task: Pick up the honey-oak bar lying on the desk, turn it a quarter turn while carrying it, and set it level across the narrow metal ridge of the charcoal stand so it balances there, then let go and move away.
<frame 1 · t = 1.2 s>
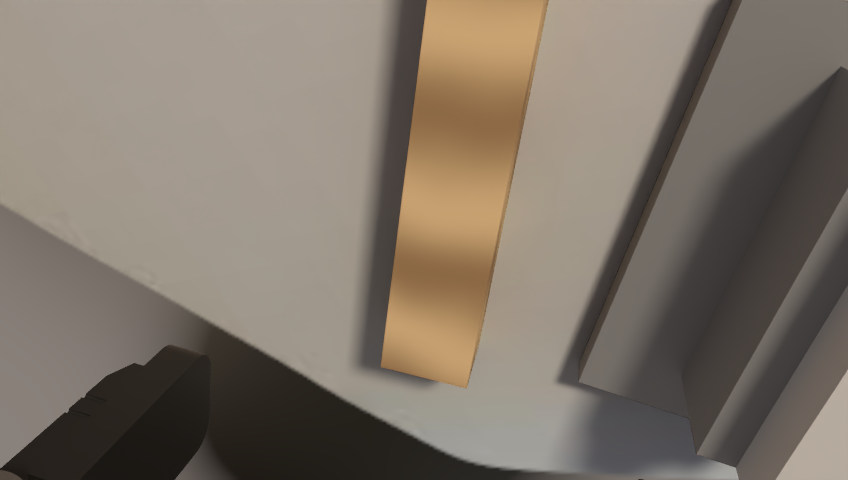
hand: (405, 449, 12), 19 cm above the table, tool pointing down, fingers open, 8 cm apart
balance stand: (817, 246, 28), on the table
oak bar: (481, 95, 29), on the table
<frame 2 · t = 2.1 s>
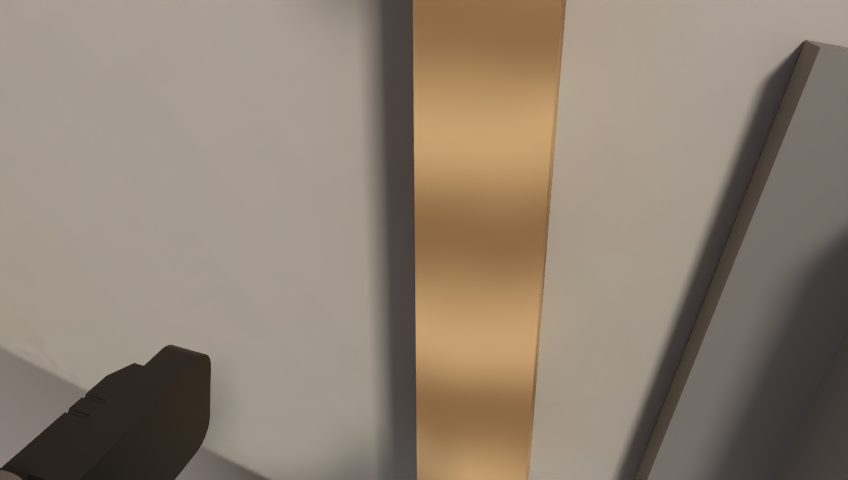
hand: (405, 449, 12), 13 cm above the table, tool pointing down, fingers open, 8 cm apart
oak bar: (494, 193, 24), on the table
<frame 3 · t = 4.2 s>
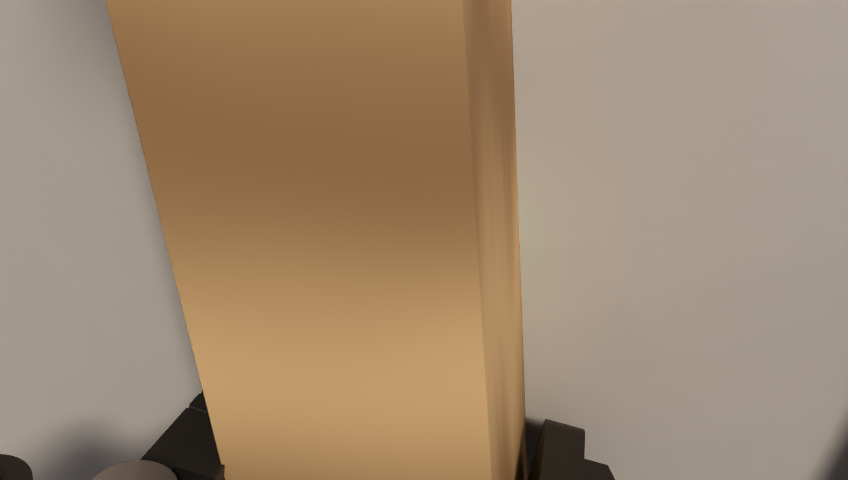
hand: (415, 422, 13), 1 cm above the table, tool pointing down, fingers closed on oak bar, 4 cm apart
oak bar: (425, 401, 14), on the table, touching gripper
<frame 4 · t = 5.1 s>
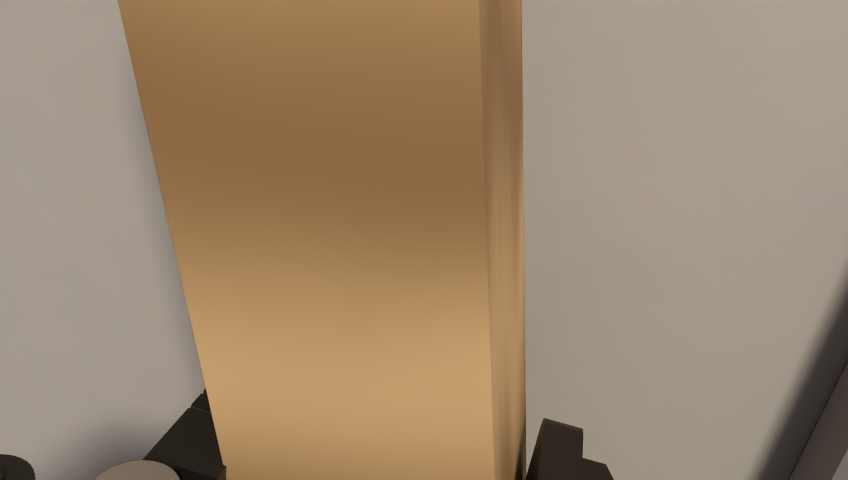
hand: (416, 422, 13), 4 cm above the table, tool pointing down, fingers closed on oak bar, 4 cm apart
oak bar: (425, 402, 14), point 3 cm above the table, touching gripper
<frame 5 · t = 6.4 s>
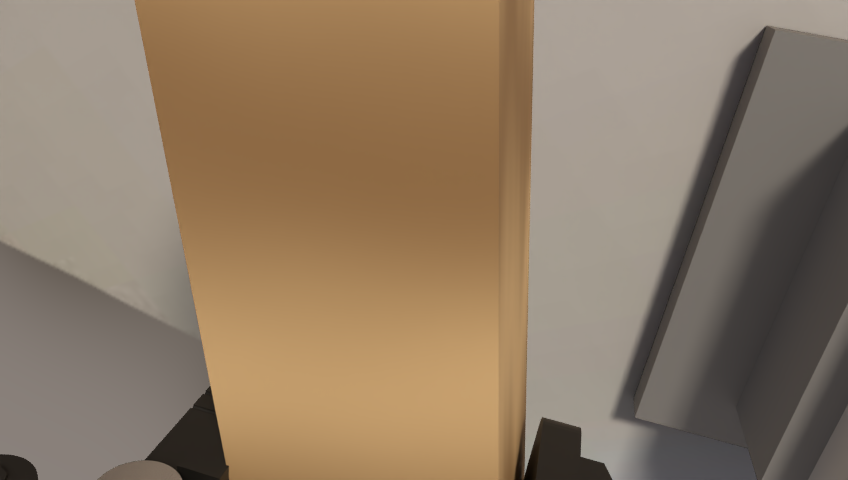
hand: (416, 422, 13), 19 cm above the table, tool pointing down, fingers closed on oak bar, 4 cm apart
oak bar: (425, 405, 14), point 18 cm above the table, touching gripper
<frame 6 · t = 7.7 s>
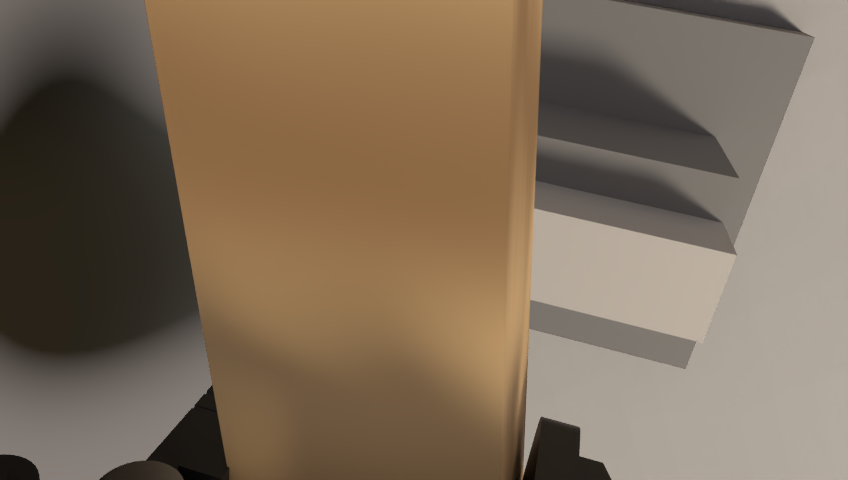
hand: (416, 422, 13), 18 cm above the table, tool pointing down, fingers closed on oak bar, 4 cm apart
balance stand: (518, 160, 29), on the table
oak bar: (425, 408, 14), point 17 cm above the table, touching gripper
when the fingers open (11 cm above the table, at t = 9.9 s): oak bar stays where it is, resting on balance stand.
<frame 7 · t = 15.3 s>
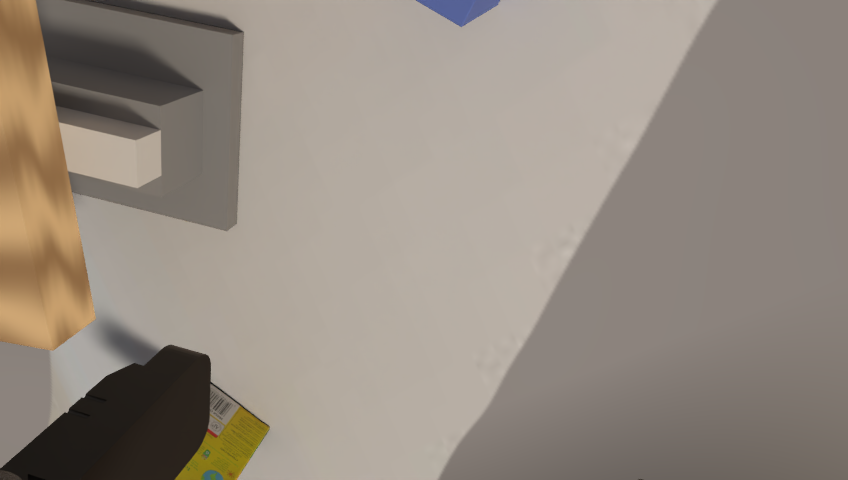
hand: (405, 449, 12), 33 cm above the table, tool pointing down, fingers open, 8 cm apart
balance stand: (125, 107, 49), on the table
oak bar: (34, 142, 41), point 9 cm above the table, touching balance stand
crayon box: (231, 410, 59), on the table
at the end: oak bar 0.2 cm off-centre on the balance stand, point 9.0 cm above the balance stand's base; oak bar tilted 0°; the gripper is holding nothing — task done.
